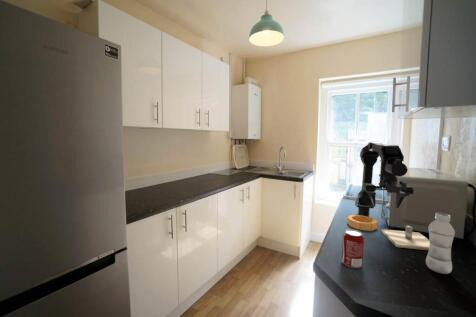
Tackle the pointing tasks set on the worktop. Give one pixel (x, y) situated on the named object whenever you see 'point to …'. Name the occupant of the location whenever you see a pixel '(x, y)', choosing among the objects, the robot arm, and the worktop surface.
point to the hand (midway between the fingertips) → (385, 207)
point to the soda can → (352, 248)
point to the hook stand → (407, 238)
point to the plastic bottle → (440, 244)
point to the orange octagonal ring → (362, 222)
